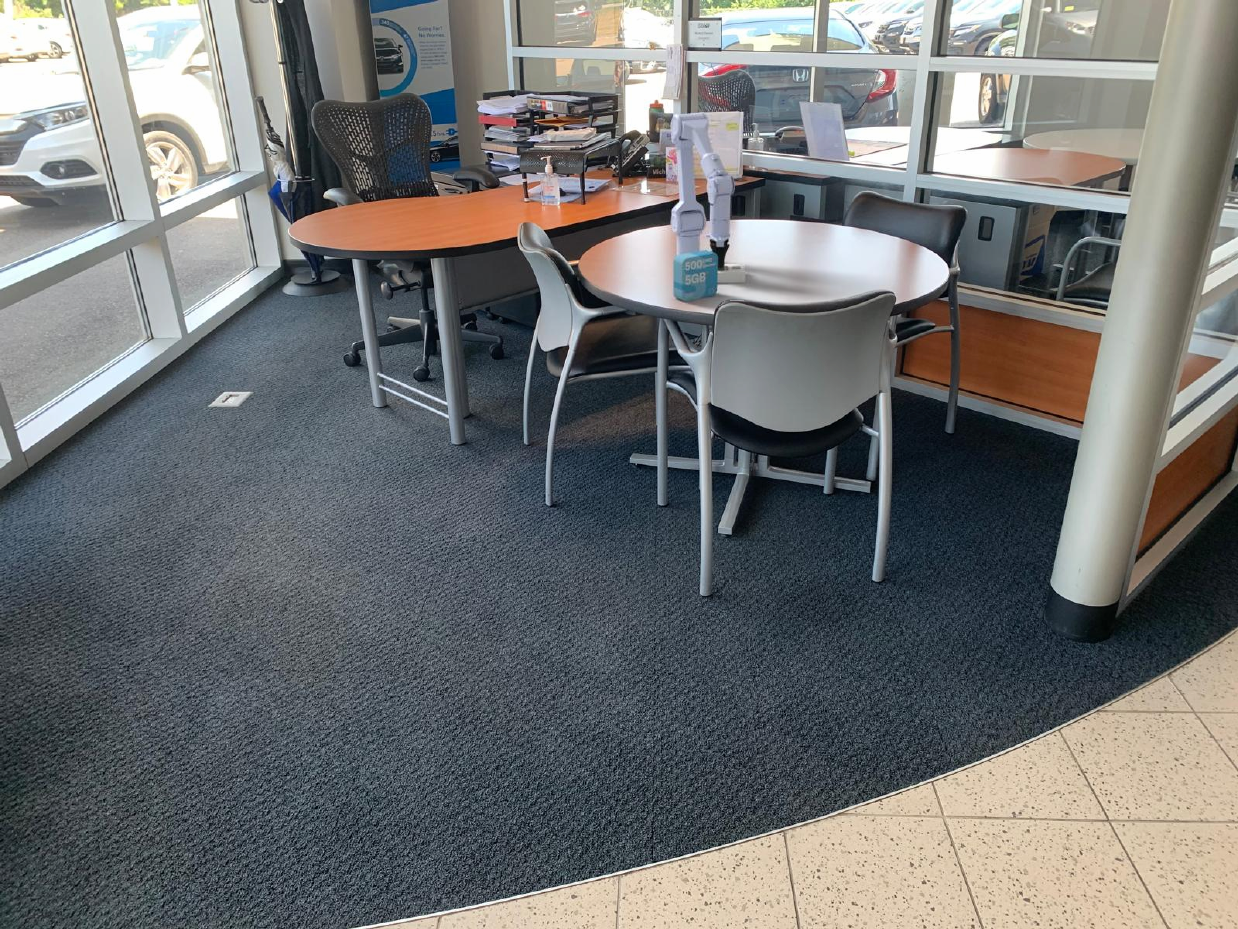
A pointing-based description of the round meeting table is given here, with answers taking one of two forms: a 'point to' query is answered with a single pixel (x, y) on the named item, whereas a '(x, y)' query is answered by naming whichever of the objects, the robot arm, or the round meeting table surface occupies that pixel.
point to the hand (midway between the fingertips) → (718, 265)
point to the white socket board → (732, 274)
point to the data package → (695, 275)
